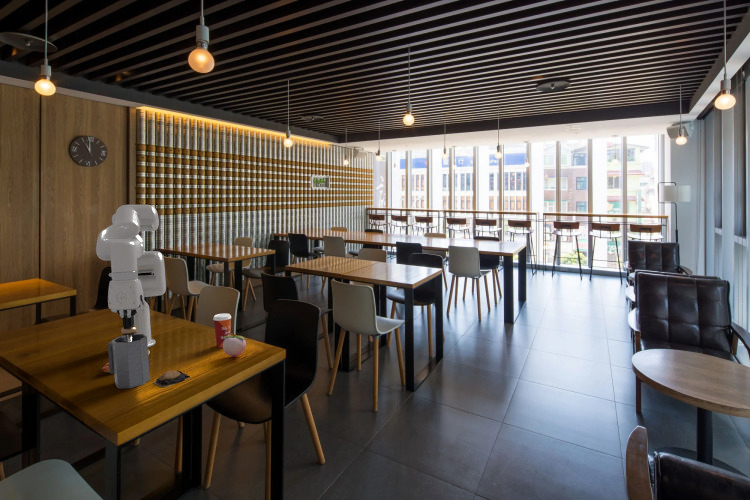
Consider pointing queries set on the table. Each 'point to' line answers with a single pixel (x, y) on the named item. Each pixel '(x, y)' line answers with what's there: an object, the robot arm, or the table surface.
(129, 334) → the plunger
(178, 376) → the abalone
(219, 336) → the paper cup
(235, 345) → the decorative fruit
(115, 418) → the table surface
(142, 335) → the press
